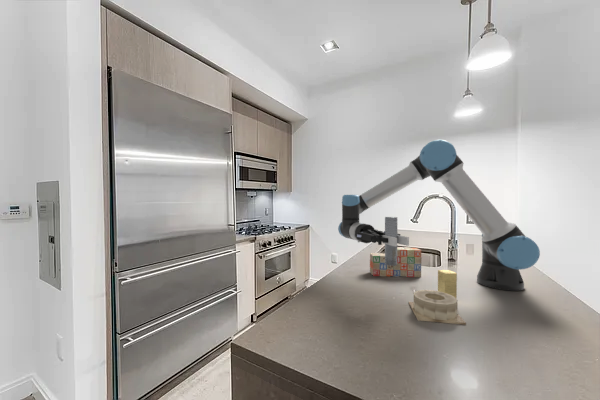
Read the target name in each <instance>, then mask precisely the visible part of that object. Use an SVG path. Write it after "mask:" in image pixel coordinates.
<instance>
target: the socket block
mask: <svg viewBox="0 0 600 400" xmlns="http://www.w3.org/2000/svg"><path fill="white" fill-rule="evenodd" d="M408 304H409V306H410V309H411V310H412V312H413V314H414V316H415V318H416V319H417V321H419V322H420V321H421V322H432V323H441V324H442V323H443V324H453V325H463V326H467V322H466V321H465V320H464V319H463V318H462V316H460V315H459V313H458V299H456V298H455V297H454V296H452V295H449V294H447V293H444V292H439V291H438V290H433V289H431V290H430V289H419V290H416V291H415V292H413V301H408Z"/></svg>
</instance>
